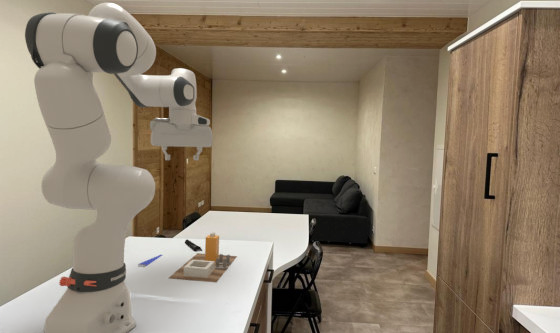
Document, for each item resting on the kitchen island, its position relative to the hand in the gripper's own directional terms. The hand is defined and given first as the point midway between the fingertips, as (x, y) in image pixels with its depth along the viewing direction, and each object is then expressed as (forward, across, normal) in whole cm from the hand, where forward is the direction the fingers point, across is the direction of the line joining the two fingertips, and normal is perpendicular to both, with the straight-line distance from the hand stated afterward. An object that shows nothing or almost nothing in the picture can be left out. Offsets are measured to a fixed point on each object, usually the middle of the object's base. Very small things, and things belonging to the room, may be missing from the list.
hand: (182, 160), depth 125 cm
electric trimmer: (+40, +10, +25) cm, 48 cm away
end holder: (+38, +5, -7) cm, 38 cm away
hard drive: (+40, -6, +12) cm, 42 cm away
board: (+39, +9, -1) cm, 40 cm away
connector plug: (+38, +12, +5) cm, 40 cm away
